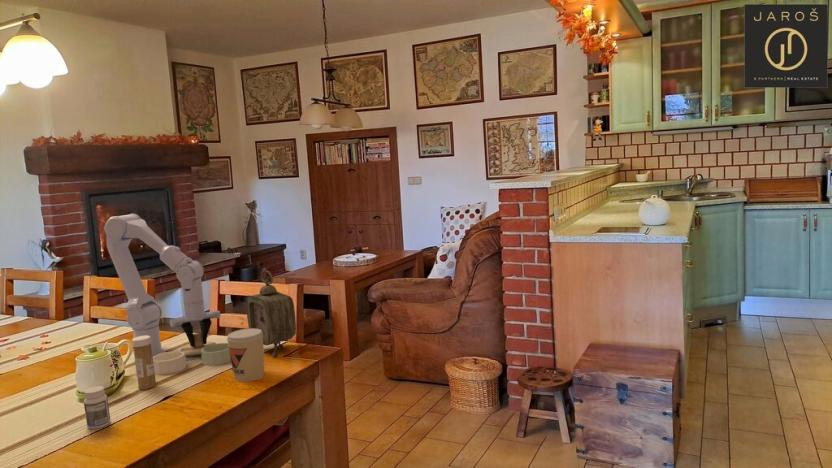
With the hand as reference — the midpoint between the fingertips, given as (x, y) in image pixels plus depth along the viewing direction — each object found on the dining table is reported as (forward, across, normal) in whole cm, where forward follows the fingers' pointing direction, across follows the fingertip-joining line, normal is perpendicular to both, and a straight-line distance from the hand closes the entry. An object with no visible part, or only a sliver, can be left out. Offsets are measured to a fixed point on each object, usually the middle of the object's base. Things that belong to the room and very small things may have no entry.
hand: (198, 344), depth 184 cm
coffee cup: (+3, +4, -32) cm, 32 cm away
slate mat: (+3, 0, 0) cm, 3 cm away
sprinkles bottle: (+3, -19, -19) cm, 27 cm away
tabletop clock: (+3, +18, -16) cm, 24 cm away
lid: (+2, 0, 0) cm, 2 cm away
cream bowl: (+3, -11, -9) cm, 14 cm away
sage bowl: (+3, +2, -12) cm, 13 cm away
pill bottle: (+3, -33, -37) cm, 50 cm away
